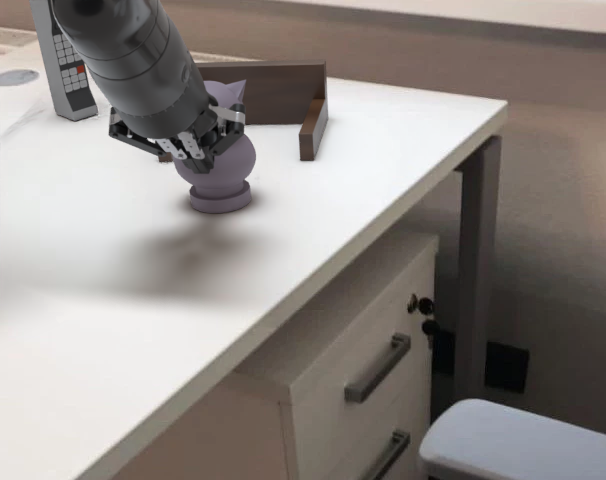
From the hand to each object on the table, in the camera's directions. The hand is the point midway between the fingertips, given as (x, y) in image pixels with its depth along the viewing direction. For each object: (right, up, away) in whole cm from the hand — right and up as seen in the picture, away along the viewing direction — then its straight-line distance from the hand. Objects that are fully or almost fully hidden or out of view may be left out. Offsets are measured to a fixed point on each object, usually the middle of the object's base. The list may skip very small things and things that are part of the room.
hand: (202, 164), depth 86 cm
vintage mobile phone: (-20, +17, +32) cm, 41 cm away
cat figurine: (+1, -2, +7) cm, 7 cm away
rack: (+3, +10, +20) cm, 23 cm away
